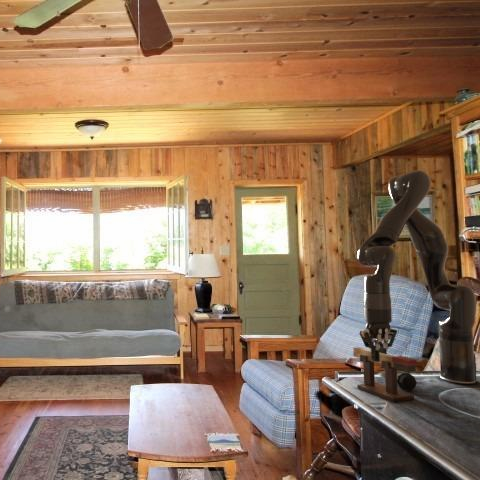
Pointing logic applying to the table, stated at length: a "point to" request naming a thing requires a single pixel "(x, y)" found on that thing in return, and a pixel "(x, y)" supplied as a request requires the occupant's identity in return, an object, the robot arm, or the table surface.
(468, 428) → the table surface
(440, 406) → the table surface
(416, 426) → the table surface
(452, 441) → the table surface
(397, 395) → the rack
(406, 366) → the brush
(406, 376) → the microphone
